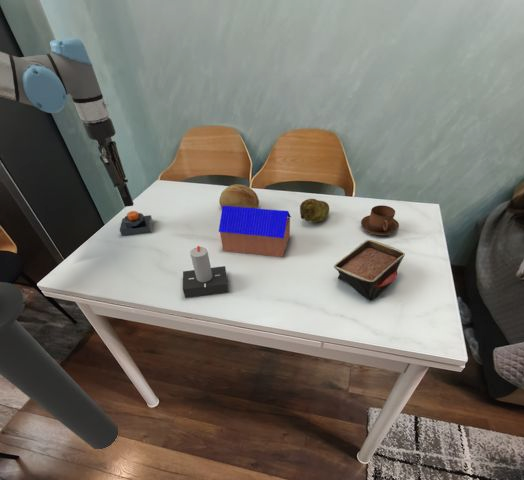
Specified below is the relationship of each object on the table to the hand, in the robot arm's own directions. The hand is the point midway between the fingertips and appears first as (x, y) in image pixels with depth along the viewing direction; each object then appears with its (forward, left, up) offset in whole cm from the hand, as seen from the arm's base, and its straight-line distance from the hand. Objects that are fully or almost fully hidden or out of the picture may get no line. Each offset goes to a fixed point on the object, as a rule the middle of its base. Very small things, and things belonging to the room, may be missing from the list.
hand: (129, 205), depth 101 cm
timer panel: (+23, -37, -8) cm, 44 cm away
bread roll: (+37, +6, -8) cm, 38 cm away
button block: (0, 0, -8) cm, 8 cm away
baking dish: (+67, -44, -8) cm, 81 cm away
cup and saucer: (+81, -19, -8) cm, 84 cm away
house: (+40, -19, -8) cm, 45 cm away
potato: (+62, -9, -8) cm, 63 cm away
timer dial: (+23, -37, -5) cm, 44 cm away
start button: (0, 0, -5) cm, 5 cm away
